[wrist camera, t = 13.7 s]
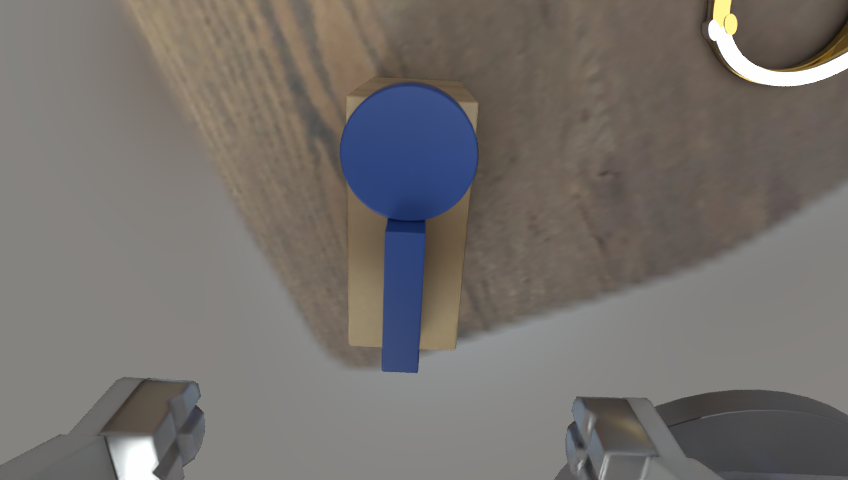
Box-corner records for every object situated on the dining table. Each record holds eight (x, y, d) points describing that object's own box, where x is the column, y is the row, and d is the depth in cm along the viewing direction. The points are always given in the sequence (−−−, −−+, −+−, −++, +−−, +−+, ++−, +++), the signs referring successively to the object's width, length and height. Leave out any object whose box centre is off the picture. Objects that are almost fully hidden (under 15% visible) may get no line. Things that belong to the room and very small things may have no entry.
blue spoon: (456, 340, 17) (460, 375, 16) (348, 335, 17) (339, 370, 16) (480, 84, 14) (489, 91, 12) (345, 77, 14) (333, 83, 12)
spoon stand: (447, 260, 25) (455, 351, 18) (371, 256, 25) (348, 346, 18) (461, 81, 22) (479, 102, 14) (373, 76, 21) (345, 95, 14)
